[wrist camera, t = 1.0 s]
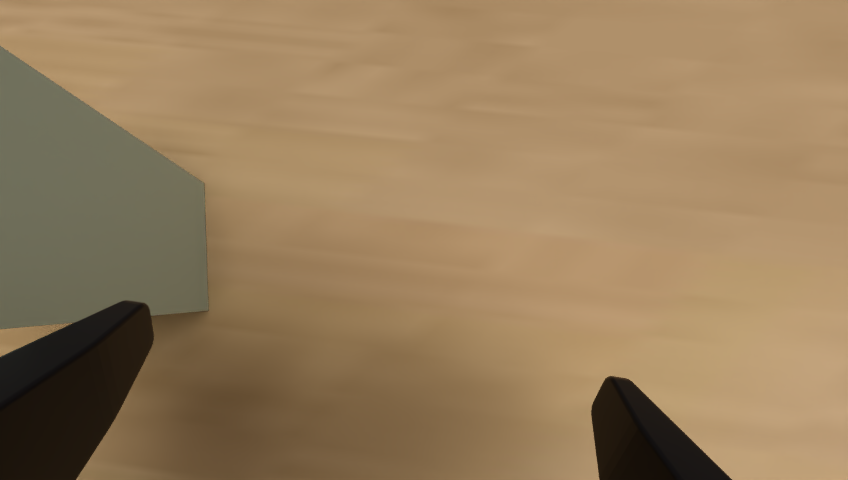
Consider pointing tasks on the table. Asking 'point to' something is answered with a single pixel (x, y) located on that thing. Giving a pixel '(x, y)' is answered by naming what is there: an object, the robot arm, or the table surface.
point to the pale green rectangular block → (89, 211)
